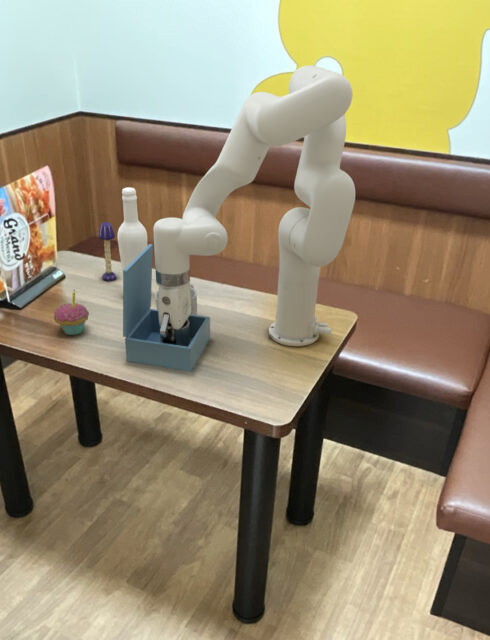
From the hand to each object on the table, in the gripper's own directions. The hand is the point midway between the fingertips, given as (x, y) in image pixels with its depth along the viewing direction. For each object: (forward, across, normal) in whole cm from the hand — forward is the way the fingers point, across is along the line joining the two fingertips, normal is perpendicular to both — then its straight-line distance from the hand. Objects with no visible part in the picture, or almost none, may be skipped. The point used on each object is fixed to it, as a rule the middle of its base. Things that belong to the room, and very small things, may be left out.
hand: (175, 344), depth 144 cm
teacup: (+3, +17, +4) cm, 18 cm away
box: (+2, 0, +2) cm, 3 cm away
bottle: (+3, +26, +20) cm, 33 cm away
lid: (-13, 0, +8) cm, 15 cm away
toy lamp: (+3, +35, +32) cm, 48 cm away
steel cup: (+2, 0, 0) cm, 2 cm away
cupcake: (+3, +3, +28) cm, 29 cm away
